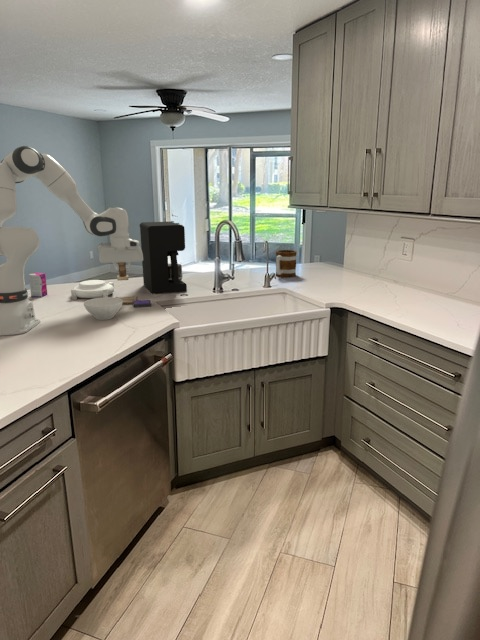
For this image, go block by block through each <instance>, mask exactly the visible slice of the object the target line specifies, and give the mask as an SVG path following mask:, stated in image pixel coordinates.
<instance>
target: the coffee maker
mask: <svg viewBox="0 0 480 640" xmlns="http://www.w3.org/2000/svg"><path fill="white" fill-rule="evenodd" d="M138 226H139V232H140V233H139V235H140V247H141V249H142V253H143V261H142V262H141V264H142V277H143V286H144V287H145V288H146V290H148V292H149V293H150V294H152V295H160V294H172V293H182V292H187V291H188V287H187V285H188V284H187V283H185V282H184V281H183V267H182V263H178V257H177V256H179V252H183V251H185V249H186V236H185V235H186V233H185V232H186V231H185V226H184V225H183V224H181V223H180V222H175V221H172V220H171V221H147V222H145V221H143V222H140V224H139V225H138ZM169 257H170V263H169Z"/></svg>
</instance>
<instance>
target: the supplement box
mask: <svg viewBox="0 0 480 640" xmlns="http://www.w3.org/2000/svg"><path fill="white" fill-rule="evenodd" d="M46 276H47V275H46V273H44V272H43V273H42V272H34V273H29V274H28V278H29V289H30V297H31V298H43V297H45V296H48V287H47V279H46V278H47V277H46Z"/></svg>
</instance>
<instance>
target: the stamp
mask: <svg viewBox="0 0 480 640" xmlns="http://www.w3.org/2000/svg"><path fill="white" fill-rule="evenodd" d="M126 265H127V262H122V263H117V267H118V268H119V272H118V274H117V276H116V277H117V278H116V279H117V281H128V280H129V274H127V272H126V268H127V266H126Z"/></svg>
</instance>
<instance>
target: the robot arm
mask: <svg viewBox="0 0 480 640" xmlns="http://www.w3.org/2000/svg"><path fill="white" fill-rule="evenodd" d="M31 177H33V178H36V179H38V180H39V181H40V182H41V183H42V184H43V185H44V186H45V187H46V189H47V190H48V191H49V192H51V194H53V195H54V196H55V197H56V198H58V199H59V200H61V201H63V203H65V204H67V205H68V206H69V207H70V208H71V209H72V211H74V212H75V213H76V215H78V217H79V218H80V219H81V220H82V222H83V225H84V228H85V230H86V231H87V232H88V233H89V234H90V235H93V236H96V237H99V238H103V237H106V236H109V240H110V241H109V242H101V243H99V244H98V245H97V253H99V255H98V258H99V263H101V264H112V265H113V268H114V269H115V273H119V267H118V266H117V264H118V263H122V262H125V263H127V266H126V273H128V272H129V271H130V267H131V264H132V263H142V261H143V253H142V249H141V241H139V240H138V239H137V240H136V239H134V238H131V237H130V232H129V229H130V228H129V227H130V224H129V216H128V215H129V214H128V212H127V210H125V208H122V207H117V206H109V208H108V209H106V210H105V211H102V212H101V213H97V212H95V211H94V210H93V209H92V208H91V207H90V206H89V205H88V204H87V203H86V202H85V201H84V200H83V198H82V197H81V195H80V193H79V191H78V186H77V183H76V181H75V180H74V179H73V177H72V176H71V174H70V173H69V172H68V171H67V170H66V168H64V167H63V166H62V165H61V164H60V163H59V162H58V161H57V160H56V159H54V157H53V156H51V155H49V154H47V153H41V152H38V150H36V149H35V148H33V147H31V146H28V145H22V146H19V147H16V148H15V149H14V150H13V151H11V152H9V153H8V154H7V155H6V156H5V157H4V158H3V159H2V160H1V161H0V256H3V257H6V261H5V262H4V263H2V264H0V337H1V336H14V335H20V334H26V333H27V332H29V331H30V330H32V329H33V328H35V326H37V325H39V323H41V320H40V319H39V318H37V317H36V313H35V308H34V303H33V302H32V301H31V300H30V299H29V293H28V289H27V287H26V283H25V267H26V263H27V262H28V260H29V258H30V257H31V256H32V255H33V254H35V253H36V251H37V250H38V248H39V247H40V238H39V235H38V233H37V232H36V230H34V229H33V228H31V227H24V226H3V224H4V223H5V222H6V221H7V220H9V219H12V217H14V216H15V215H16V214H17V210H18V208H17V207H18V206H17V191H16V184H20V183H23V182H24V181H26V180H27V179H30V178H31Z"/></svg>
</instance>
